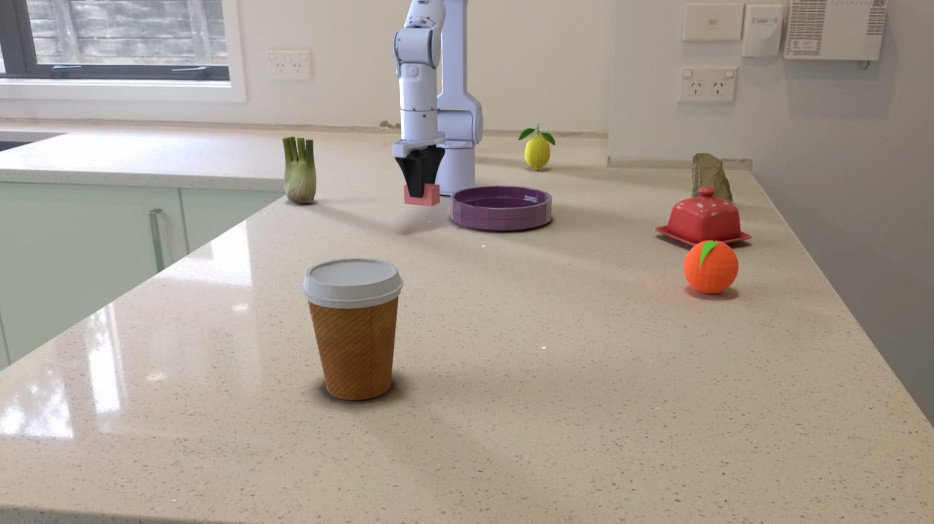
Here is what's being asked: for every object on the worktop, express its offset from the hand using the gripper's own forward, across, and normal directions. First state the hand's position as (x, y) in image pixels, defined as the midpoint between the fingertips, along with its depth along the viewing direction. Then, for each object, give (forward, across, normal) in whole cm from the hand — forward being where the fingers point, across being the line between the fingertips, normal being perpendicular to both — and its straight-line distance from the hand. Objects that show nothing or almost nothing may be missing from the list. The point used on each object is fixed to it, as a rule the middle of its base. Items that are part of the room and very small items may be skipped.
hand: (421, 194), depth 137 cm
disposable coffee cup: (+6, -56, -22) cm, 60 cm away
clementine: (+6, -14, -49) cm, 51 cm away
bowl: (+5, +10, -10) cm, 15 cm away
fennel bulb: (+6, +6, +28) cm, 29 cm away
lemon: (+6, +52, -1) cm, 52 cm away
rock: (+6, +34, -42) cm, 54 cm away
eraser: (+1, 0, 0) cm, 1 cm away
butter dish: (+6, +11, -44) cm, 46 cm away
